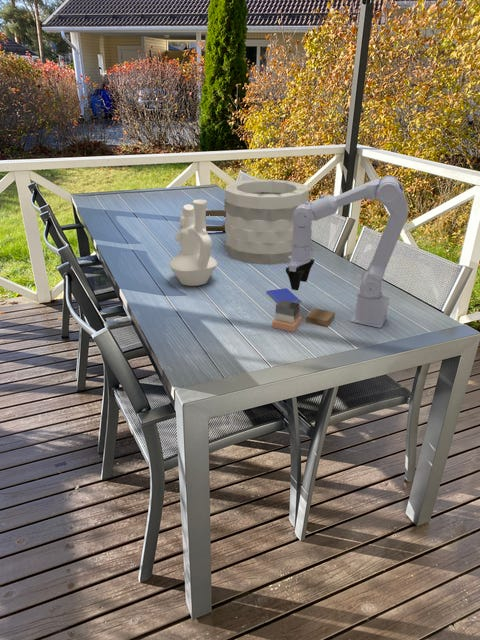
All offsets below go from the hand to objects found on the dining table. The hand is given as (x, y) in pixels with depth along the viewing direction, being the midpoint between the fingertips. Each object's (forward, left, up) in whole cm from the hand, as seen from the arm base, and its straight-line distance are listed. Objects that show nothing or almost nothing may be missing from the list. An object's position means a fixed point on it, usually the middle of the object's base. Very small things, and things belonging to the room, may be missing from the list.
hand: (299, 285), depth 159 cm
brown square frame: (+75, -74, -10) cm, 106 cm away
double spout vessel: (+42, -5, -10) cm, 44 cm away
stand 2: (-9, +2, -9) cm, 13 cm away
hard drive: (+8, -8, -10) cm, 15 cm away
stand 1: (-1, +10, -9) cm, 14 cm away
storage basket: (+35, -51, -10) cm, 63 cm away
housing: (0, +10, -7) cm, 13 cm away
